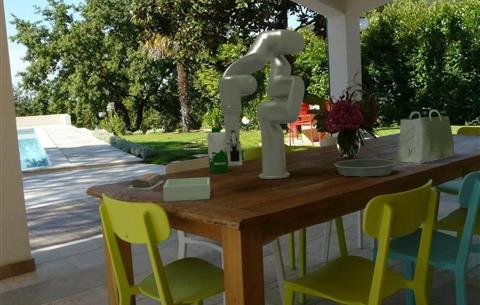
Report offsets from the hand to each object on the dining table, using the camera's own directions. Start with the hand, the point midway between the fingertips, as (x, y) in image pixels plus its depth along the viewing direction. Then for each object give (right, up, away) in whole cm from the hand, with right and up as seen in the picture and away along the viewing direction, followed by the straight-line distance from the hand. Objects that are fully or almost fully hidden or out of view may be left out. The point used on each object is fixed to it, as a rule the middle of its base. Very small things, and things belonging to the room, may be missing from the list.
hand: (234, 159), depth 195 cm
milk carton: (-8, -6, +46) cm, 47 cm away
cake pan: (+53, -6, +23) cm, 58 cm away
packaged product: (-36, -12, +18) cm, 42 cm away
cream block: (0, -2, 0) cm, 2 cm away
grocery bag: (+88, -1, +53) cm, 103 cm away
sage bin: (-17, -13, -6) cm, 22 cm away
